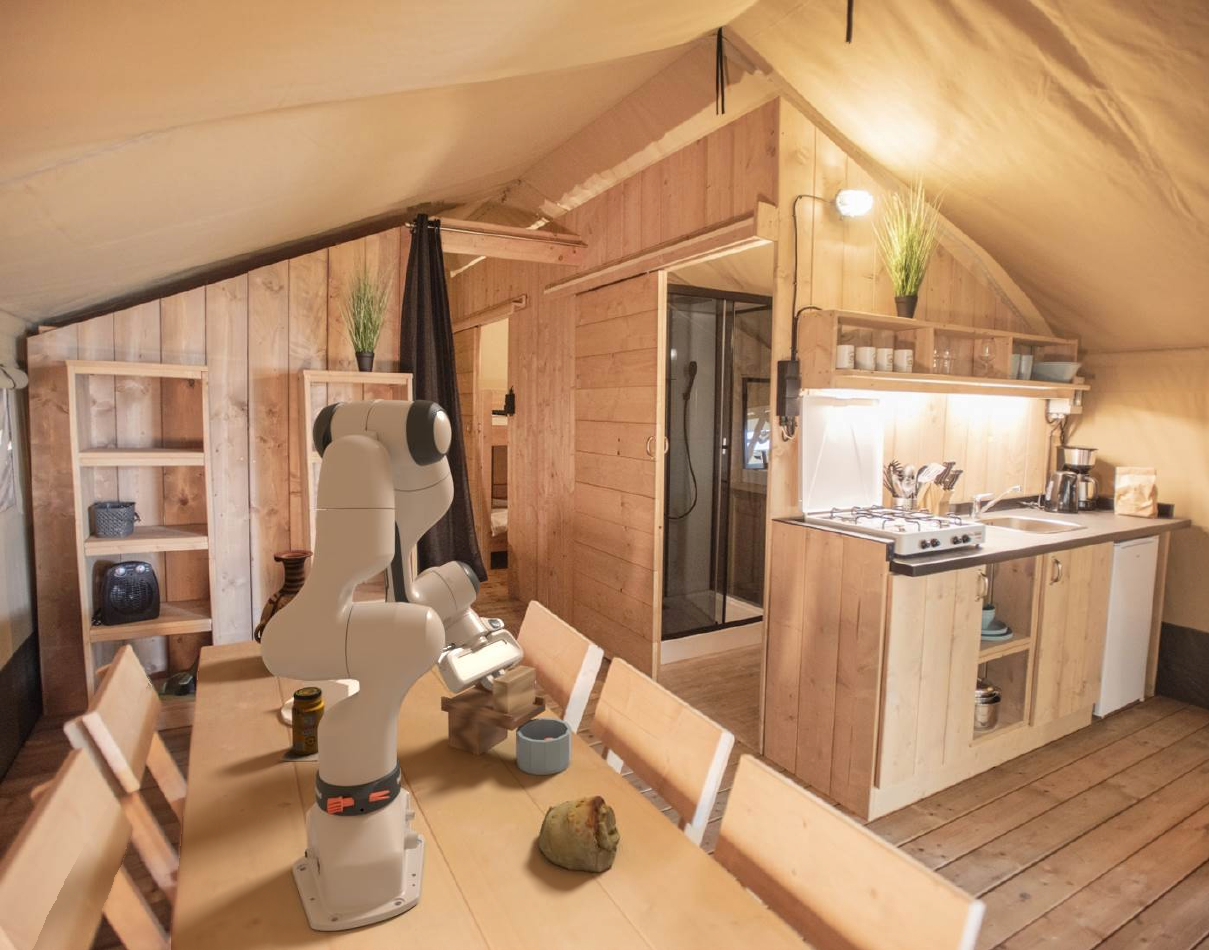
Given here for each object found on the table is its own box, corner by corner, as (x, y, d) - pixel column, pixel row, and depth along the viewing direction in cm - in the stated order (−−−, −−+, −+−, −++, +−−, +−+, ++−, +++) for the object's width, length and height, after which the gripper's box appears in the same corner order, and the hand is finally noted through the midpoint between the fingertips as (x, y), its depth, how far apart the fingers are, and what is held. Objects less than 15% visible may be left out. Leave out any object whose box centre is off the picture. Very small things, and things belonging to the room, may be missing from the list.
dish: (412, 688, 173) (411, 643, 172) (368, 733, 148) (367, 681, 147) (317, 684, 176) (316, 640, 175) (258, 728, 151) (256, 677, 150)
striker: (493, 714, 136) (493, 679, 135) (521, 698, 144) (521, 665, 143) (507, 718, 134) (507, 683, 133) (535, 702, 142) (535, 668, 141)
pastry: (633, 867, 104) (633, 816, 104) (551, 885, 100) (551, 831, 100) (602, 816, 118) (603, 770, 117) (529, 830, 114) (529, 782, 113)
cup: (578, 769, 133) (578, 736, 132) (525, 779, 129) (525, 745, 128) (560, 745, 142) (560, 714, 142) (511, 754, 138) (510, 723, 138)
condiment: (332, 741, 144) (331, 684, 143) (317, 761, 136) (315, 701, 135) (296, 741, 144) (294, 684, 143) (279, 761, 136) (277, 701, 135)
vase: (330, 645, 204) (327, 543, 201) (346, 664, 189) (343, 554, 187) (248, 660, 192) (244, 551, 189) (259, 680, 177) (254, 563, 175)
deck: (441, 746, 142) (441, 697, 141) (477, 726, 151) (476, 680, 150) (512, 769, 133) (511, 717, 132) (545, 746, 142) (545, 697, 141)
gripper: (438, 643, 134) (478, 703, 129) (505, 617, 151) (543, 669, 147) (421, 661, 136) (460, 721, 132) (489, 634, 154) (526, 686, 150)
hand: (504, 694), depth 140 cm, fingers closed, pressing on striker
